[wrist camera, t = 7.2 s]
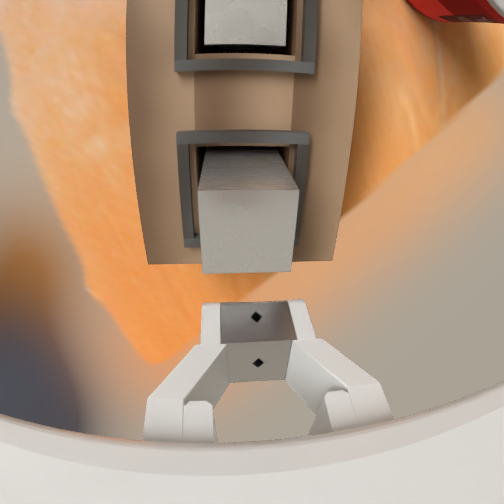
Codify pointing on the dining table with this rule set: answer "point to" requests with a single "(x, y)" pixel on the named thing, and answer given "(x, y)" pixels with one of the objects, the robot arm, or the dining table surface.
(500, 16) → the canned food
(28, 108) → the dining table surface
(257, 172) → the peg
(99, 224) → the dining table surface
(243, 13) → the peg
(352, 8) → the socket block
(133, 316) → the dining table surface
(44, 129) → the dining table surface
